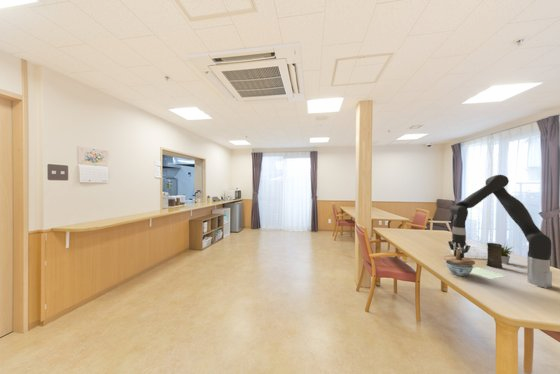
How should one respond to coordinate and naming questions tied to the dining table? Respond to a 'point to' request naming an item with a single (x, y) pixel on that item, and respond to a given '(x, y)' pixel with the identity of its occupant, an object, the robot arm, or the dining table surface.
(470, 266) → the chinaware
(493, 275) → the mat
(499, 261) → the container
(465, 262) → the lid
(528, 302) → the dining table surface
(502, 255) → the house plant
